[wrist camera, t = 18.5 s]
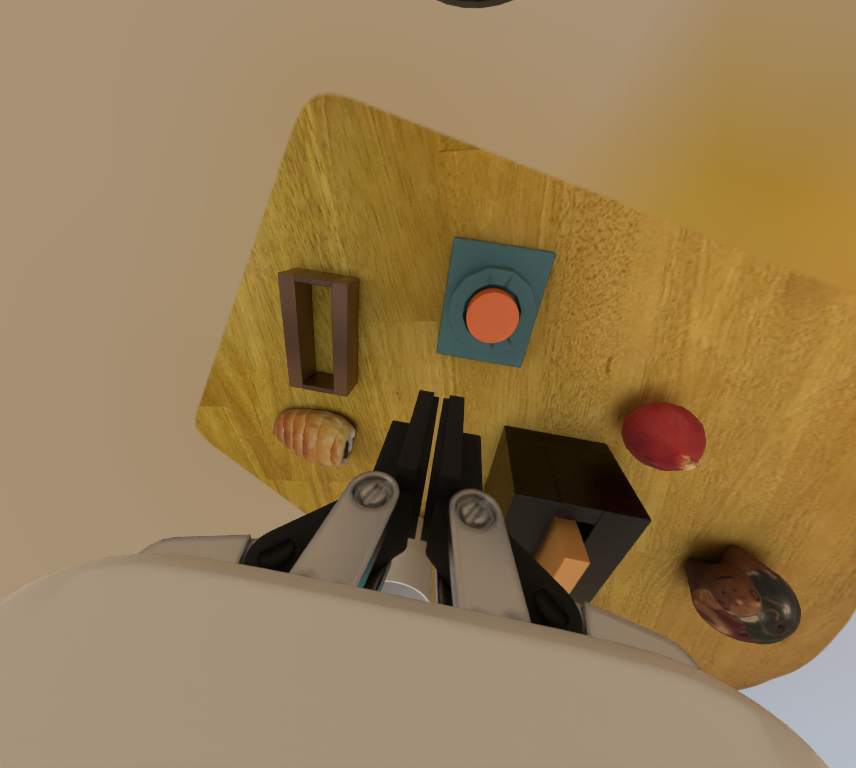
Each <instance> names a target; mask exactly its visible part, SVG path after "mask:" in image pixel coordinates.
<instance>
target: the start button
mask: <svg viewBox="0 0 856 768" xmlns="http://www.w3.org/2000/svg"><path fill="white" fill-rule="evenodd" d="M466 322H467V327H468V329H469V331H470V333H471V334H472V335H473V336H474V337H475V338H476V339H478V340H479V341H482V342H485V343H497V342H501V341H503V340H505V339H507V338H508V337H509V336H511V335H512V333H513V332H514V331H515V329H516V327H517V325H518V322H519V311H518V307H517V305H516V303H515V301H514V299H513V298H512V296H511V295H510V294H509V293H507V292H506V291H504V290H502V289H498V288H488V289H484V290H482V291H480V292H478V293H477V294H476V295H475V296H474V297H473V298H472V299H471V301H470V302H469V304H468V307H467V315H466Z"/></svg>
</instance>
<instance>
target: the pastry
mask: <svg viewBox="0 0 856 768" xmlns="http://www.w3.org/2000/svg"><path fill="white" fill-rule="evenodd" d="M273 433H274V434H275V435H276V437H277V438H278V440H279V441H280V442H282V443H283V444H285V445H286V447H287V448H288V449H291V450H294V451H295V452H296V455H297V456H303V457H305V458H306V459H307V460H308V462H310V463H314V462H318V463H319V464H320V465H321V466H322V467H329V466H331V465H335V466H336V467H340V466H342V465H344V464H345V463H346V462H347V461H348V459H349V452H350V451H351V450H352V446H353V445H352V443H353V441H352V438H354V436H355V429H354V427H353V426H352V425H351V424H350V423H349V422H348V421H347V420H346V419H345V418H343V417H342V416H340V415H336V414H333V413H330V412H329V411H323V410H314V409H290V410H286V411H284V412H282V413H280V414H279V415H278V417H277V418H276V420H275V424H274V428H273Z"/></svg>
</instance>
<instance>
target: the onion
mask: <svg viewBox="0 0 856 768" xmlns="http://www.w3.org/2000/svg"><path fill="white" fill-rule="evenodd" d="M622 437H623V441H624V444H625V446H626V448H627V449H628V450H629V451H630V453H631V454H632V455H633V456H634V457H635V458H636V459H637V460H638V461H640V462H641V463H643V464H645V465H647V466H650V467H653V468H656V469H659V470H663V471H679V470H684V469H686V470H692V469H694V468H695V467H696V466H697V464H698V463H699V459H700V458H701V457H702V455H703V453H704V450H705V446H706V438H705V432H704V428H703V425H702V424H701V422H700V421H699V420H698V419H697V418H696V417H695V416H694V415H693V414H692V413H691V412H690V411H688V410H687V409H685V408H684V407H682V406H678V405H675V404H672V403H667V402H654V403H650V404H646V405H642V406H640V407H638V408H637V409H635V410H633V411H631V413H630V414H629V415H628V416H627V417H626V418H625V420H624V423H623V426H622Z"/></svg>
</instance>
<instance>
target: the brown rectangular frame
mask: <svg viewBox="0 0 856 768" xmlns="http://www.w3.org/2000/svg"><path fill="white" fill-rule="evenodd" d="M278 280H279V289H280V299H281V308H282V318H283V327H284V337H285V346H286V355H287V365H288V374H289V384H290V386H291V387H297V388H303V389H307V390H313V391H318V392H324V393H329V394H335V395H341V396H346V397H347V396H348V395H349V393H350V392H351V391H352V389H353V388H354V386H355V385H356V383H357V359H358V306H359V278H356V277H350V276H344V275H338V274H332V273H326V272H319V271H313V270H307V269H301V268H293V269H290V270H286V271H283V272H279V273H278ZM311 284H314V285H320V286H326V287H332V329H333V370H334V375H332V374H326V373H321V372H316V369H315V351H314V333H313V315H312V298H311Z"/></svg>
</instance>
